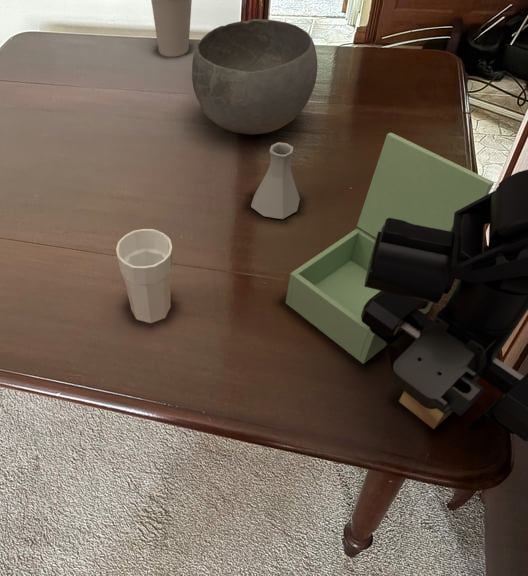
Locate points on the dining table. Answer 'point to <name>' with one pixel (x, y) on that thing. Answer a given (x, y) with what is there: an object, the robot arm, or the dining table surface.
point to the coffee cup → (172, 26)
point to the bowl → (254, 74)
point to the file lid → (418, 188)
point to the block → (423, 411)
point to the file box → (339, 294)
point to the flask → (277, 186)
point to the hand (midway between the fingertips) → (432, 397)
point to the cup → (146, 272)
